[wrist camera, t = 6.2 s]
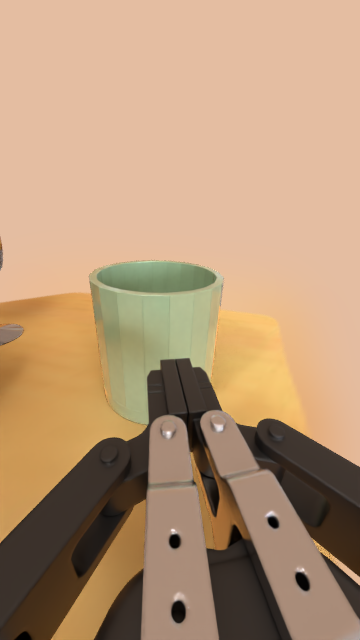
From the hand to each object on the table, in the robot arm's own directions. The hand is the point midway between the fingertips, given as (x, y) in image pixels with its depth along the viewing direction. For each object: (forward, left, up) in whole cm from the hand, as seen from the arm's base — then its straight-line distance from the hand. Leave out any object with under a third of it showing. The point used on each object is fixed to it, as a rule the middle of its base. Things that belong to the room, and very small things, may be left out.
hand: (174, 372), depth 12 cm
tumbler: (+5, +9, -9) cm, 14 cm away
